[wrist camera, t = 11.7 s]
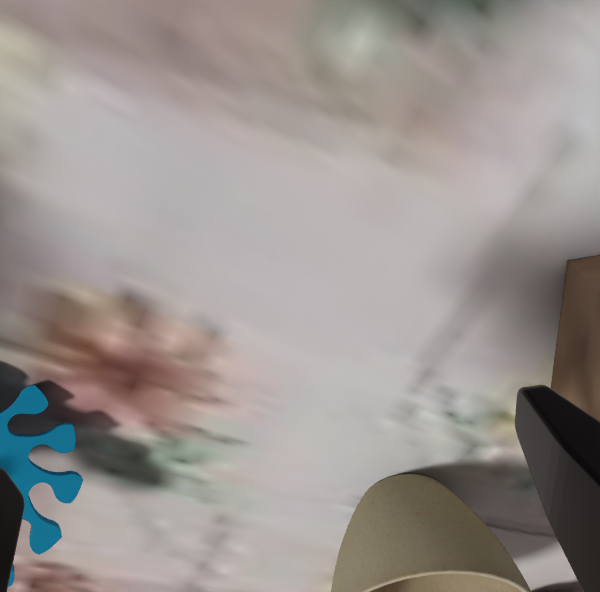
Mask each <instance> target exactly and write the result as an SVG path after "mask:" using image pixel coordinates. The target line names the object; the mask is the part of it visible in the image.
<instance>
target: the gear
mask: <svg viewBox="0 0 600 592" xmlns="http://www.w3.org/2000/svg"><path fill="white" fill-rule="evenodd" d="M48 405H49V404H48V401H47V399H46V397H45V396H44V394H43V393H42V392H41V391H40V389H38V388H37V387H36V386H35V385H30V386H27V387H26V388H24V389H23V390H22V391H21V393H20V394H19V396H18V398H17V399H16V400H15V402H14V403H13V404H12V405H11V406H9V407H8V408H7V409H5V410H4V411H2V412H0V468H2V469H4V470H5V471H6V472H7V473H8V475H9V476H10V478H11V479H12V480H13V482H14V483H15V485H16V486H17V487H18V489H19V490H20V492H21V493H22V495H23V498H24V512H23V517H22V519H24V520H27V521H29V523H30V524H31V531H30V547H31V549H32V550H33V551H34V552H35V553H36V554H41V553H44V552H45V551H47V550H48V549H50V548H51V547H52V546H53V545H54V544H55V543H56V542H57V541H58V540H59V539H60V538H61V537H62V535H61V530H60V527H59V525H58V524H57V523H56V522H55V521H53V520H49V519H47V518H45V517H43V516H42V515H40V514H39V513H38V512H37V511H36V509H35V508H34V507H33V505H32V503H31V500H30V498H29V495H28V493H29V491H30V489H31V488H32V487H33V486H34V485H35V484H37V483H41V482H44V483H48V484H49V485H50V486H51V487H52V489H53V491H54V494H55V496H56V498H57V499H58V500H59V501H61V502H63V503H71V502H72V501H73V500H74V499H75V498H76V496H77V494H78V492H79V490H80V488H81V485H82V482H83V479H82V477H81V476H80V474H78V473H77V472H74V471H66V472H51V471H48V470H44V469H43V468H41V467H39V466H37V465H36V464H34V463H33V462H32V461H30V459H29V457H28V456H29V453H30V451H31V449H32V448H34V447H35V446H37V445H40V444H45V445H48V446H49V447H51V448H52V449H54V450H55V451H57V452H60V453H67V452H70V451H72V450H74V448H75V443H76V437H75V431H74V426H73V425H72V424H71V423H60V424H58V425H56V426H55V427H54V428H52V429H50V430H48V431H46V432H43V433H40V434H34V435H24V434H15V433H13V432H11V431H10V430H9V428H8V421H9V420H10V418H11V417H13V416H14V415H16V414H20V413H23V414H37V413H40V412H42V411H44V410H45V409H46V408H47V406H48ZM13 581H14V565H12V570H11V575H10V579H9V584H8V586H11V585H12V583H13Z"/></svg>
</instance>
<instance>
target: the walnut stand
mask: <svg viewBox="0 0 600 592" xmlns="http://www.w3.org/2000/svg"><path fill="white" fill-rule="evenodd" d="M551 389H552V390H553V391H555V392H556V393H558V394H559V395H561V396H562V397H564V398H565V399H567V400H568V401H570V402H571V403H573V404H574V405H576V406H577V407H579V408H580V409H582V410H583V411H585V412H586V413H588V414H589V415H591V416H592V417H594V418H595V419H597V420H598V421H600V255H598V256H592V257H586V258H580V259H574V260H568V261H567V268H566V276H565V283H564V291H563V299H562V306H561V314H560V322H559V329H558V337H557V345H556V352H555V360H554V368H553V376H552V383H551Z"/></svg>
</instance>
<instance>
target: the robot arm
mask: <svg viewBox="0 0 600 592" xmlns="http://www.w3.org/2000/svg"><path fill="white" fill-rule="evenodd" d="M515 428H516V433H517V436H518V439H519V442H520V444H521V447H522V450H523V453H524V455H525V458H526V461H527V463H528V466H529V469H530V472H531V474H532V477H533V480H534V483H535V485H536V488H537V491H538V493H539V496H540V499H541V502H542V504H543V507H544V510H545V512H546V515H547V517H548V520H549V522H550V524H551V526H552V529H553V531H554V533H555V535H556V537H557V539H558V541H559V543H560V545H561V547H562V549H563V551H564V553H565V555H566V557H567V559H568V561H569V563H570V565H571V567H572V569H573V571H574V573H575V575H576V577H577V579H578V581H579V583H580V585H581V587H582V589H583V591H584V592H600V421H598V420H597V419H595V418H594V417H592V416H591V415H589V414H588V413H586V412H585V411H583V410H582V409H580V408H579V407H577V406H576V405H574V404H573V403H571V402H570V401H568V400H567V399H565V398H564V397H562V396H561V395H559V394H558V393H556V392H555V391H553V390H552V389H550V388H549V387H547V386H545V385H536V386H529V387H523V388H520V389H519V391H518V393H517V403H516V415H515ZM23 512H24V498H23V495H22V493H21V492H20V490H19V489H18V487H17V486H16V485H15V483H14V482H13V480H12V479H11V478H10V476H9V475H8V473H7V472H6V471H5V470H4V469H2V468H0V592H7V588H8V584H9V579H10V575H11V570H12V565H13V560H14V555H15V551H16V546H17V541H18V536H19V531H20V527H21V522H22V517H23Z"/></svg>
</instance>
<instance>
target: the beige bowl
mask: <svg viewBox="0 0 600 592" xmlns="http://www.w3.org/2000/svg"><path fill="white" fill-rule="evenodd" d="M331 592H531V590H530V588H529V586H528V585H527V583H526V581H525V579H524V578H523V576H522V574H521V572H520V571H519V569H518V567H517V566H516V564H515V563H514V561H513V560H512V558H511V557H510V555H509V554H508V552H507V551H506V549H505V548H504V547H503V545H502V544H501V543H500V541H499V540H498V539H497V537H496V536H495V535H494V534H493V532H492V531H491V530H490V529H489V527H488V526H487V525H486V524H485V523H484V522H483V521H482V520H481V518H480V517H479V516H478V515H477V514H476V513H475V512H474V511H473V510H472V509H471V508H470V507H469V506H468V505H467V504H466V503H465V502H463V501H462V500H461V499H460V498H459V497H458V496H457V495H455V494H454V493H453V492H452V491H450V490H449V489H448V488H446V487H445V486H444V485H442V484H441V483H440V482H438V481H437V480H435V479H433V478H430V477H428V476H424V475H418V474H402V475H396V476H392V477H389V478H386V479H384V480H381V481H379V482H377V483H376V484H374V485H373V486H372V487H370V488H369V489H368V491H367V492H366V493H365V494H364V496H363V498H362V499H361V501H360V503H359V504H358V506H357V508H356V510H355V512H354V514H353V516H352V518H351V520H350V523H349V525H348V528H347V530H346V533H345V536H344V538H343V541H342V544H341V547H340V551H339V554H338V558H337V562H336V567H335V571H334V576H333V583H332V589H331Z"/></svg>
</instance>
